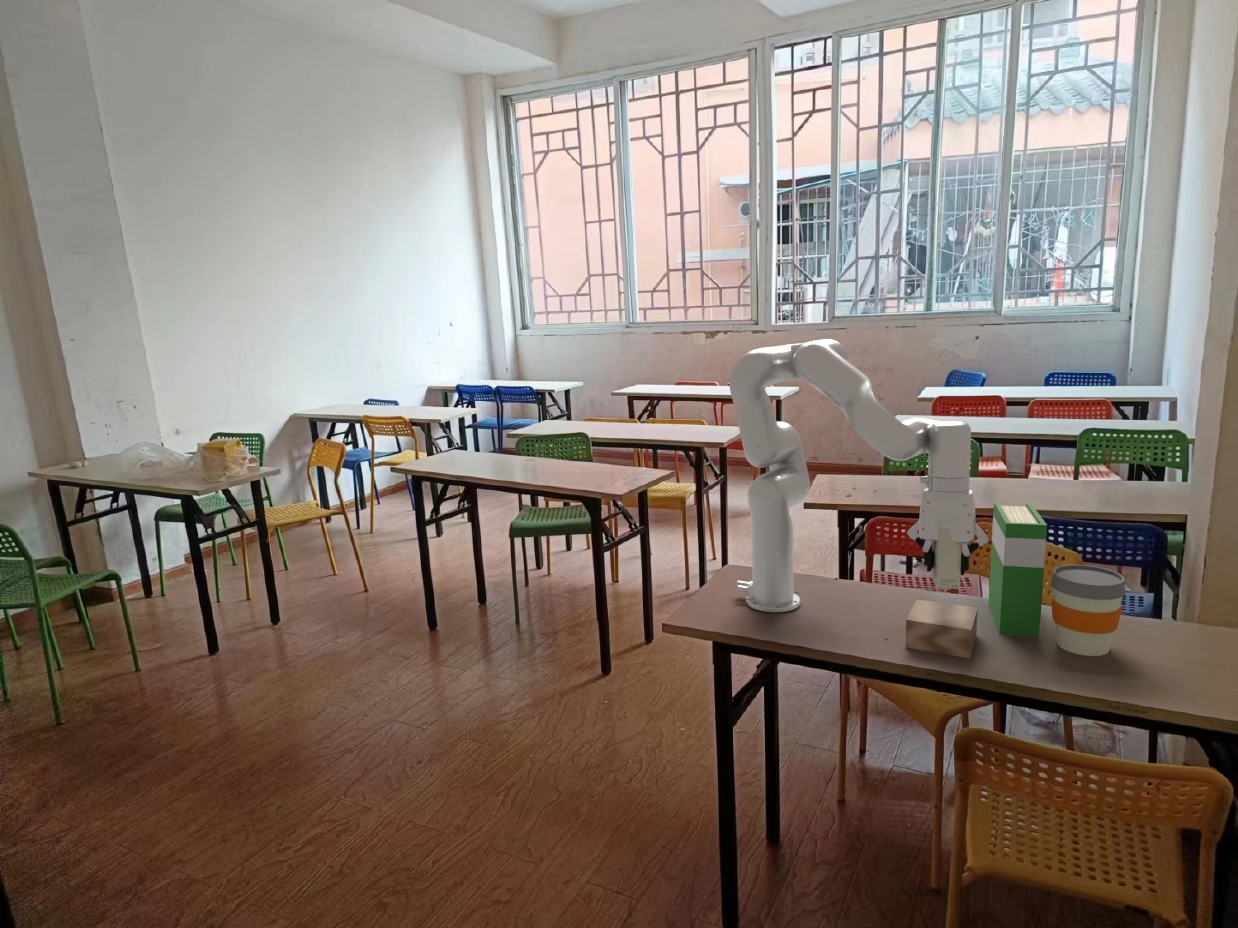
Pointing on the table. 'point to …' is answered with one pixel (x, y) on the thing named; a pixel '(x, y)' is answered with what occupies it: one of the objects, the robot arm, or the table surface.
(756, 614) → the table surface
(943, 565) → the skincare box
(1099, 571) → the reusable coffee cup
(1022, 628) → the hardback book
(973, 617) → the walnut block
